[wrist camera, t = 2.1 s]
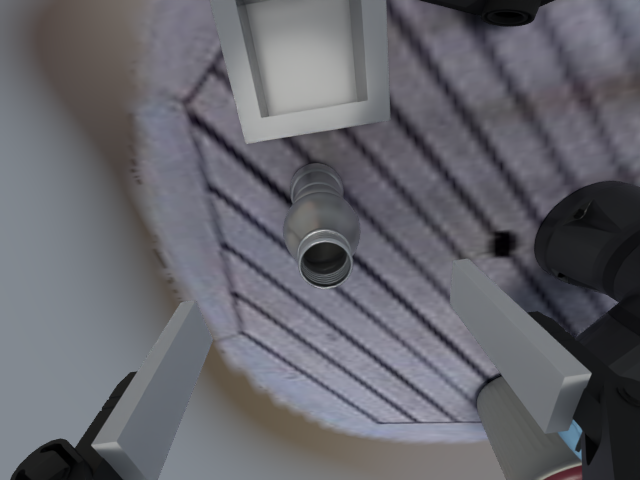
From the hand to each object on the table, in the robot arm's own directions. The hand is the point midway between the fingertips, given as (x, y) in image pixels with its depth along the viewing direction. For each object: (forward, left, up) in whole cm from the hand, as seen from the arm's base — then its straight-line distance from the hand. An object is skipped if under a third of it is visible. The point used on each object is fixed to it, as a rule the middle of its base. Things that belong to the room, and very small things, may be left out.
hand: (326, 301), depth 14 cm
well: (+14, -1, -24) cm, 28 cm away
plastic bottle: (0, 0, -24) cm, 24 cm away
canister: (-47, -31, -24) cm, 61 cm away
